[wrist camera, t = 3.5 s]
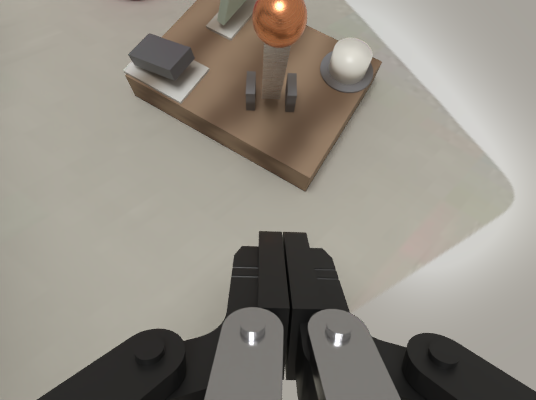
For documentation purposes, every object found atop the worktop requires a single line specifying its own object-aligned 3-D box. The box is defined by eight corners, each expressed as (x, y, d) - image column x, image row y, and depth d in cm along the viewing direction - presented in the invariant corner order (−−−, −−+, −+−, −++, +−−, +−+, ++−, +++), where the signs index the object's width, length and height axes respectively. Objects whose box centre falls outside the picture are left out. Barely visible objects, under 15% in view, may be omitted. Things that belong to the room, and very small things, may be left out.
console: (133, 94, 36) (113, 55, 30) (215, 4, 40) (210, -42, 35) (306, 191, 32) (315, 166, 27) (373, 82, 37) (392, 43, 32)
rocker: (134, 65, 32) (128, 54, 31) (154, 44, 33) (149, 33, 32) (175, 81, 30) (169, 70, 29) (194, 58, 31) (190, 47, 30)
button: (322, 74, 33) (326, 57, 31) (338, 49, 35) (344, 31, 32) (355, 90, 33) (362, 74, 31) (371, 65, 34) (378, 48, 32)
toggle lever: (287, 107, 31) (310, 33, 17) (253, 106, 31) (250, 30, 17) (288, 74, 31) (312, -26, 17) (254, 72, 31) (252, -29, 17)
